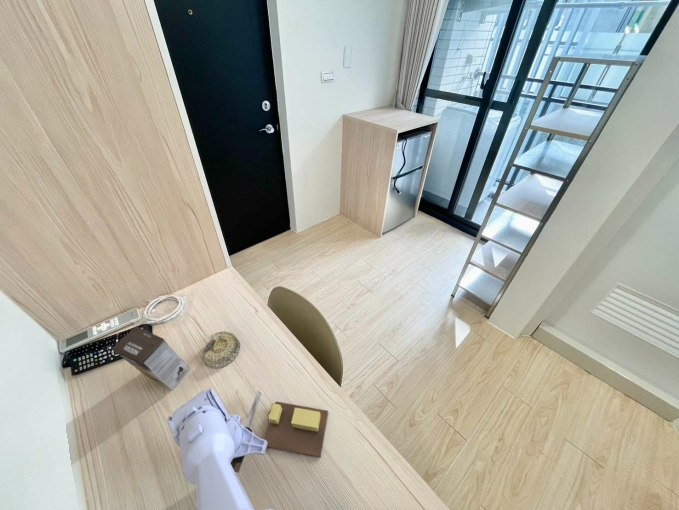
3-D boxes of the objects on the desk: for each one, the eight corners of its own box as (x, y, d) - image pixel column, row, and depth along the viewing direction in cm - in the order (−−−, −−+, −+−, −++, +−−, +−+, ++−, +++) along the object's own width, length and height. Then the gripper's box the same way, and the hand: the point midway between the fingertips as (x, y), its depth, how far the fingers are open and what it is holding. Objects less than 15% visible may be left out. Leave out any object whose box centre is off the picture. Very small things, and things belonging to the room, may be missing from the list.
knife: (238, 472, 54) (233, 470, 52) (229, 470, 54) (224, 468, 52) (264, 394, 65) (262, 389, 62) (256, 392, 65) (253, 387, 62)
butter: (317, 431, 61) (317, 428, 59) (292, 427, 62) (290, 423, 59) (320, 416, 63) (320, 411, 61) (296, 411, 64) (294, 407, 62)
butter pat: (278, 424, 62) (275, 420, 60) (270, 422, 62) (268, 418, 60) (282, 409, 64) (280, 404, 62) (275, 407, 64) (272, 403, 62)
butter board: (320, 457, 58) (320, 456, 58) (263, 446, 60) (262, 445, 59) (328, 412, 65) (328, 410, 64) (276, 402, 66) (275, 401, 65)
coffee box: (146, 377, 70) (109, 348, 59) (166, 355, 75) (135, 324, 64) (172, 391, 68) (139, 364, 57) (191, 368, 72) (164, 338, 61)
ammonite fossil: (242, 333, 80) (239, 324, 76) (238, 367, 73) (234, 358, 69) (207, 336, 79) (202, 326, 75) (199, 370, 72) (193, 361, 68)
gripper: (267, 414, 48) (279, 433, 58) (192, 400, 50) (215, 421, 59) (251, 463, 43) (267, 475, 53) (169, 446, 45) (198, 461, 54)
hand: (239, 449), depth 56 cm, fingers closed on knife, 2 cm apart
